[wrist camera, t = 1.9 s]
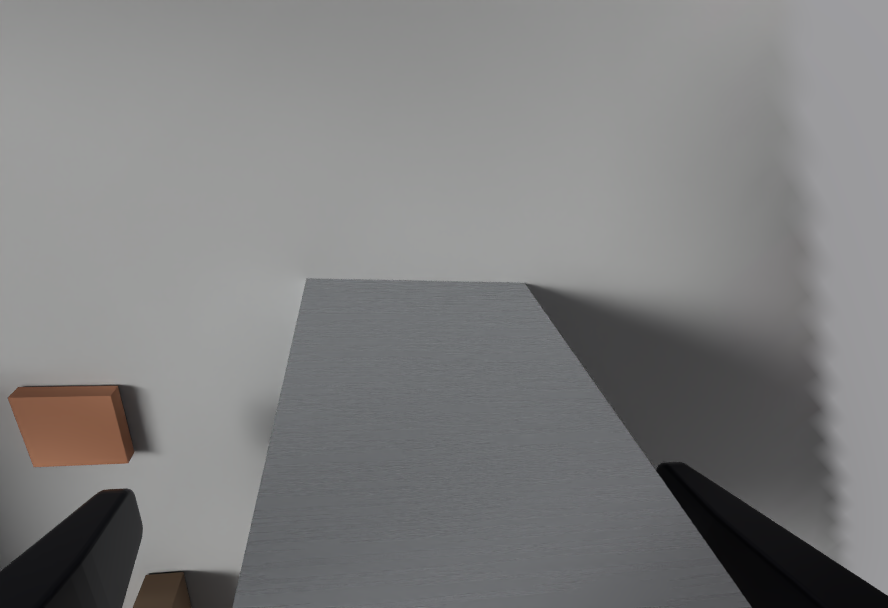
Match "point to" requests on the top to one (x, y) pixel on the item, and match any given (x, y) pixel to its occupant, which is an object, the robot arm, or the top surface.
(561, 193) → the top surface
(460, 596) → the block
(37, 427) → the bar
